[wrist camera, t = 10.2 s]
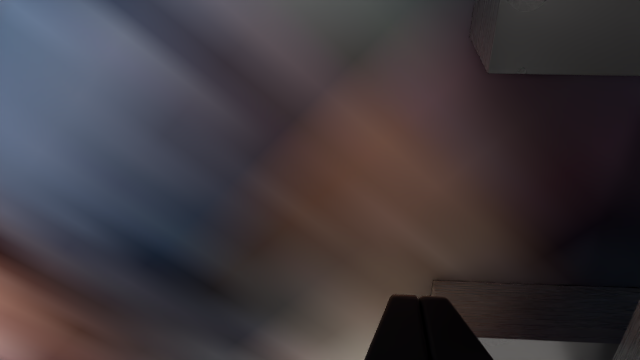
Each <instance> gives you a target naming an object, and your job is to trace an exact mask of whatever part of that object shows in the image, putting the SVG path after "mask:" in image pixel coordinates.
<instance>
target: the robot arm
mask: <svg viewBox="0 0 640 360" xmlns="http://www.w3.org/2000/svg"><path fill="white" fill-rule="evenodd" d="M364 360H494V359H493V358H492V357H491V355H490V354H489V353H488V351H487V350H486V349H485V347H484V346H483V345H482V343H481V342H480V341H479V339H478V338H477V337H476V335H475V334H474V333H473V331H472V330H471V329H470V327H469V326H468V325H467V323H466V322H465V321H464V319H463V318H462V317H461V315H460V314H459V313H458V311H457V310H456V309H455V307H454V306H453V305H452V303H451V302H450V301H449V299H447V298H446V297H443V296H421V297H420V298H419V299H418V298H417V296H415V295H397V294H395V295H392V296H391V297H390V299H389V301H388V303H387V306H386V308H385V311H384V313H383V316H382V318H381V320H380V323H379V325H378V328H377V330H376V333H375V335H374V337H373V340H372V342H371V345H370V347H369V350H368V352H367V355H366V357H365V359H364Z"/></svg>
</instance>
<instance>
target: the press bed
mask: <svg viewBox="0 0 640 360" xmlns="http://www.w3.org/2000/svg"><path fill="white" fill-rule="evenodd" d="M469 38H470V39H471V41H472V43H473V45H474V47H475V49H476V51H477V53H478V55H479V57H480V59H481V61H482V63H483V65H484V67H485V69H486V71H487V73H498V74H556V75H615V76H640V0H475V3H474V9H473V16H472V23H471V30H470V36H469ZM431 296H443V297H446V298H447V299H449V301H450V302H451V303H452V305H453V306H454V307H455V309H456V310H457V311H458V313H459V314H460V315H461V317H462V318H463V319H464V321H465V322H466V323H467V325H468V326H469V327H470V329H471V330H472V331H473V333H474V334H475V335H476V337H477V338H478V339H479V341H480V342H481V343H482V345H483V346H484V347H485V349H486V350H487V351H488V353H489V354H490V355H491V357H492V358H493V359H494V360H613V358H614V356H615V353H616V351H617V349H618V347H619V345H620V342H621V340H622V338H623V336H624V333H625V331H626V329H627V327H628V325H629V322H630V320H631V318H632V316H633V313H634V311H635V309H636V307H637V305H638V302H639V300H640V289H637V288H612V287H586V286H561V285H535V284H510V283H485V282H459V281H434V280H433V286H432V293H431Z"/></svg>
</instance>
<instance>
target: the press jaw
mask: <svg viewBox="0 0 640 360" xmlns="http://www.w3.org/2000/svg"><path fill="white" fill-rule="evenodd" d="M613 360H640V300H639V302H638V305H637V307H636V309H635V311H634V313H633V316H632V318H631V320H630V322H629V325H628V327H627V329H626V331H625V333H624V336H623V338H622V340H621V342H620V345H619V347H618V349H617V351H616V353H615V356H614V358H613Z"/></svg>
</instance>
